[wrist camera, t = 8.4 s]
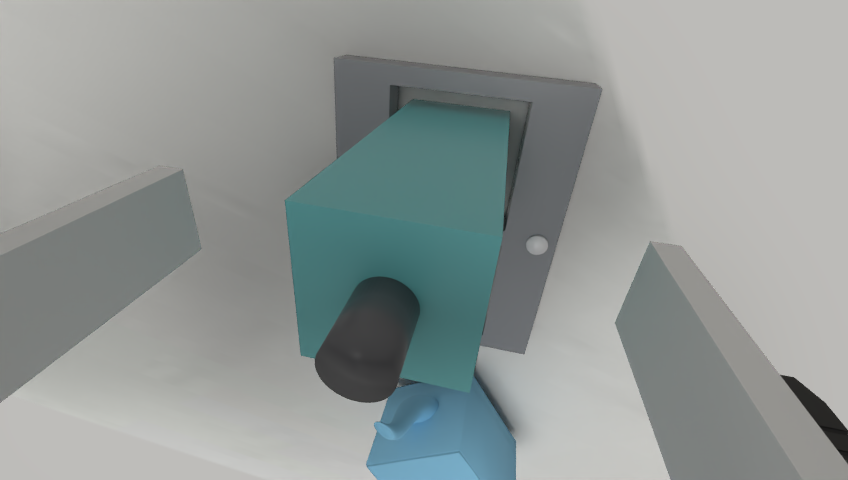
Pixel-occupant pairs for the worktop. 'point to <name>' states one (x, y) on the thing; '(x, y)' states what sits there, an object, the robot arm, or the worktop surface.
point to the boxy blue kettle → (441, 436)
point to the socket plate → (534, 177)
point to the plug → (401, 250)
